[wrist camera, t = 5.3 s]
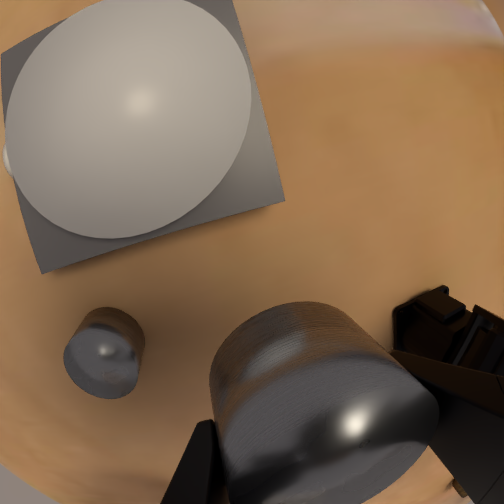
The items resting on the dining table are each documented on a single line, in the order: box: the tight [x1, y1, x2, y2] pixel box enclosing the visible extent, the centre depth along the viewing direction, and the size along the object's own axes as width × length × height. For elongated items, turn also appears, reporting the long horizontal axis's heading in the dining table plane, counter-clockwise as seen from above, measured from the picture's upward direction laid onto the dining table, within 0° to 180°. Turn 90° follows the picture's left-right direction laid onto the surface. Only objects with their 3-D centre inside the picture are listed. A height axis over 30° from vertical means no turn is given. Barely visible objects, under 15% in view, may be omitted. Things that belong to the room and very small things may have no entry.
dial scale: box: [1, 0, 285, 274], centre depth 15 cm, size 15×16×4 cm
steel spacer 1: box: [64, 307, 145, 399], centre depth 18 cm, size 5×5×4 cm
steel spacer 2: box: [209, 301, 439, 504], centre depth 7 cm, size 5×5×4 cm
